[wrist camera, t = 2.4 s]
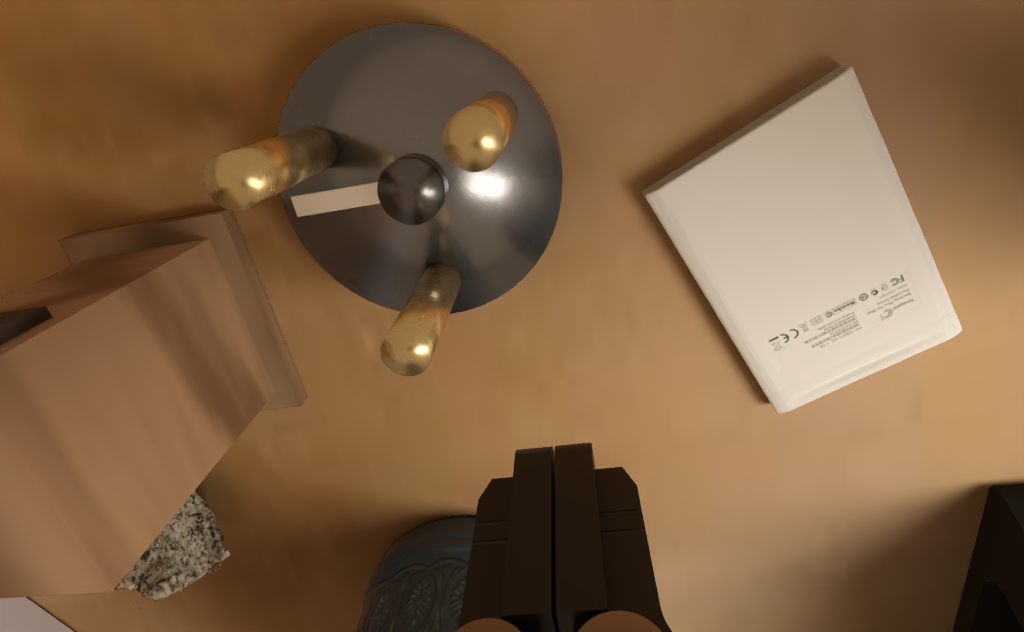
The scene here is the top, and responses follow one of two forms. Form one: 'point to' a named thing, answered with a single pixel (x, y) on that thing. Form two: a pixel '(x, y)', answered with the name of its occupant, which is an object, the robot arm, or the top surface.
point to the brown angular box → (126, 394)
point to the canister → (420, 580)
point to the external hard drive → (808, 245)
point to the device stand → (996, 567)
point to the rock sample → (178, 553)
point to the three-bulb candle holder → (409, 175)
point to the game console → (27, 617)
